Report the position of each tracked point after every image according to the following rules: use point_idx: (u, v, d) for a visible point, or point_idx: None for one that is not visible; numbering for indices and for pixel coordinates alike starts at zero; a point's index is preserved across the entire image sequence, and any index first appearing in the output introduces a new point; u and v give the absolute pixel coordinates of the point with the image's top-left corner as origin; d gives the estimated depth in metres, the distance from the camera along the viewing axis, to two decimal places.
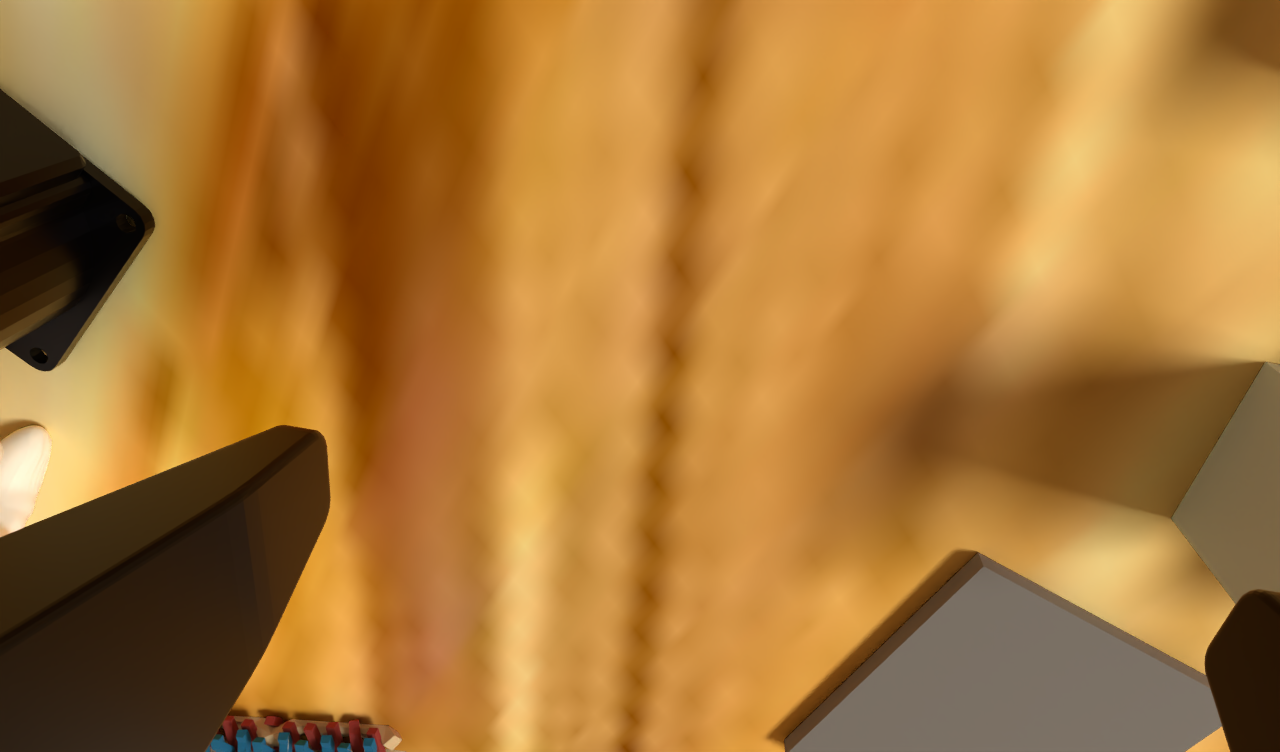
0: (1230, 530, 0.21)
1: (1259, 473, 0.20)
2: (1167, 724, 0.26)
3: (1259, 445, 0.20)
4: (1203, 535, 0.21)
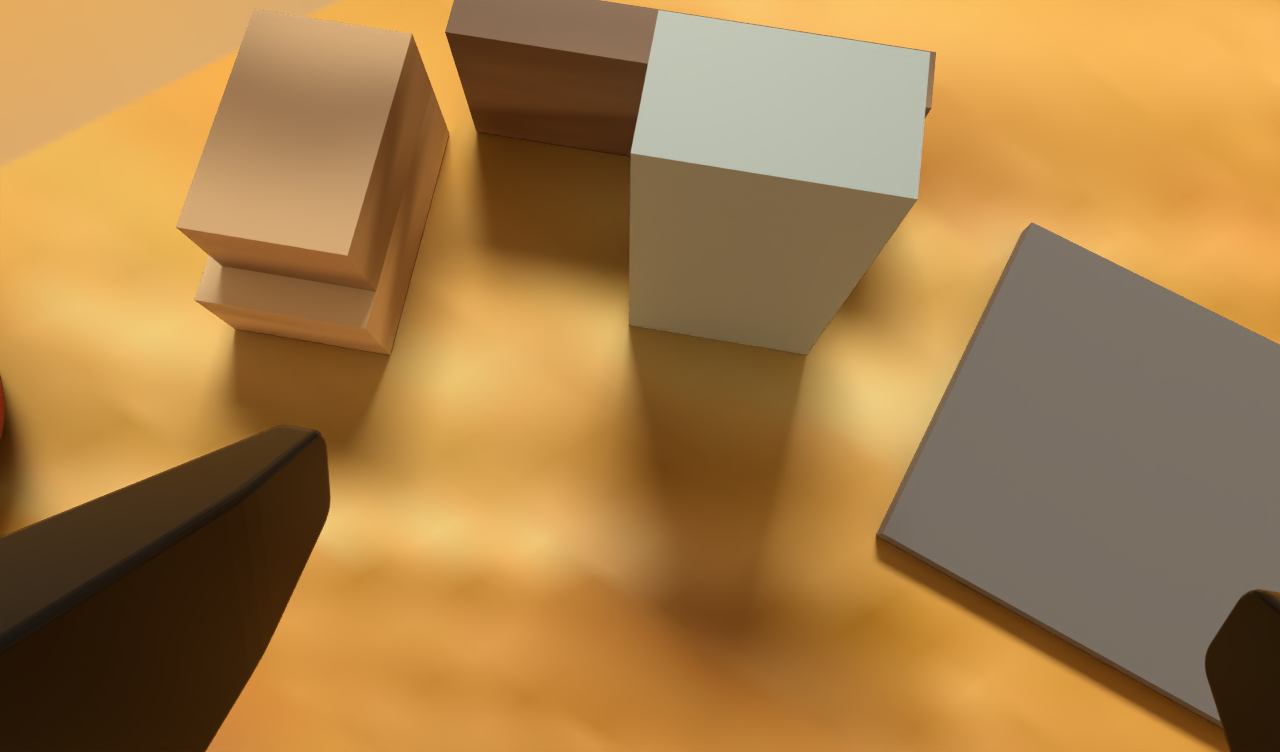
0: (776, 324, 0.21)
1: (712, 316, 0.21)
2: (1075, 290, 0.23)
3: (691, 319, 0.22)
4: (798, 336, 0.21)
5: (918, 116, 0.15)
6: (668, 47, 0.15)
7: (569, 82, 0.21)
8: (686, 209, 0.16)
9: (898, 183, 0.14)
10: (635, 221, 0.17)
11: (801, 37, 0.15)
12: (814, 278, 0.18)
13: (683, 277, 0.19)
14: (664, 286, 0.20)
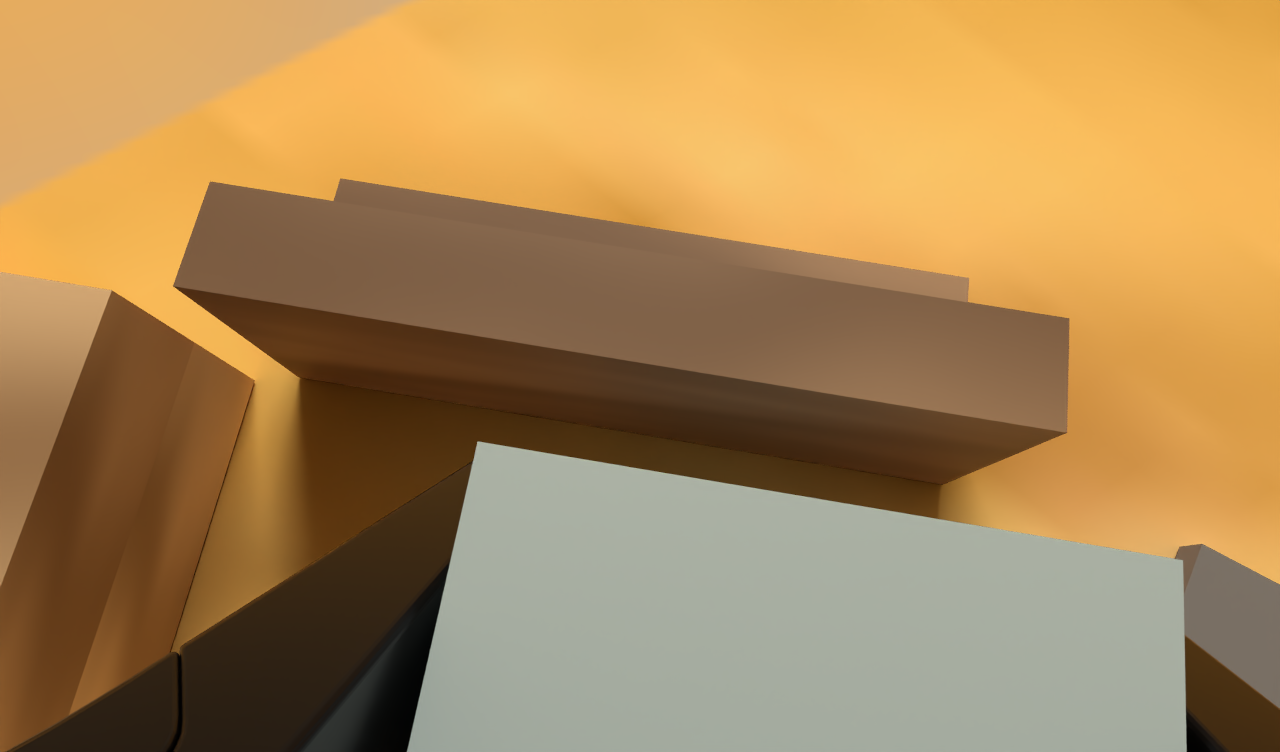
0: None
1: None
2: None
3: None
4: None
5: None
6: (496, 556, 0.06)
7: (415, 350, 0.12)
8: None
9: None
10: None
11: (844, 506, 0.06)
12: None
13: None
14: None
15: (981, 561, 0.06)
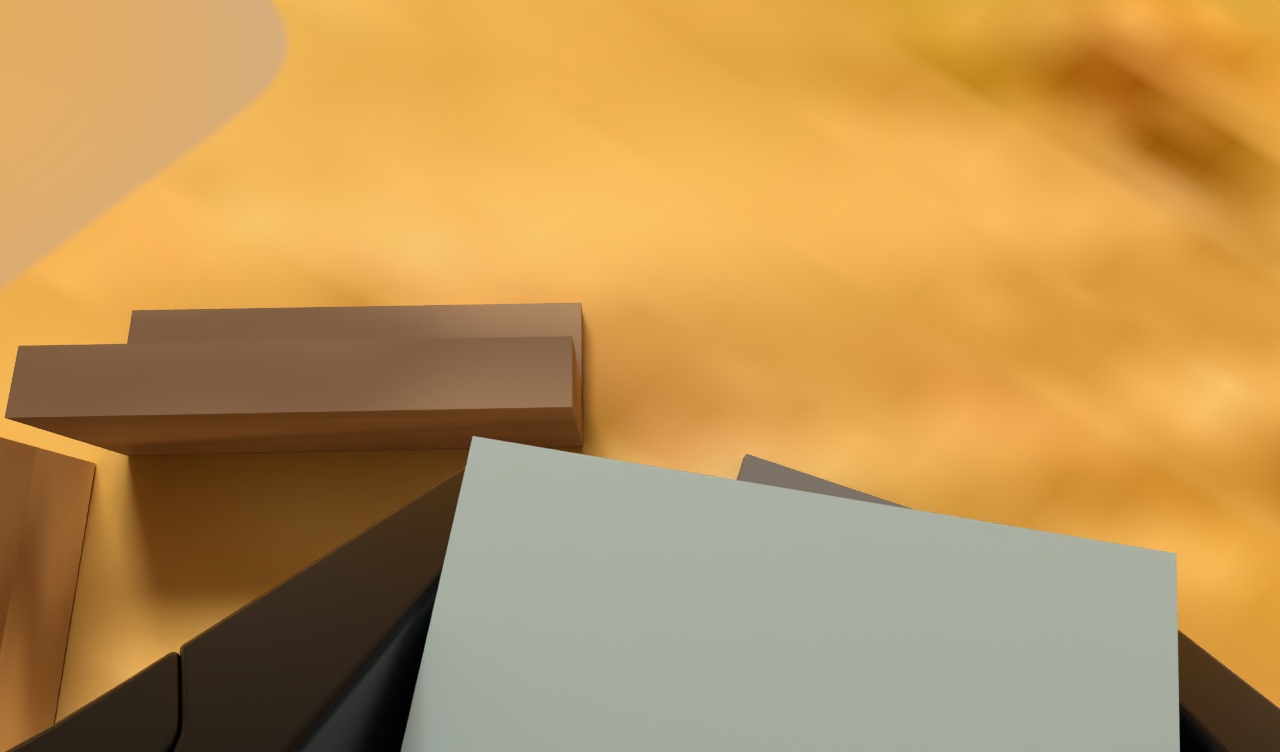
0: None
1: None
2: None
3: None
4: None
5: None
6: (491, 550, 0.06)
7: (179, 427, 0.19)
8: None
9: None
10: None
11: (838, 500, 0.06)
12: None
13: None
14: None
15: (975, 555, 0.06)
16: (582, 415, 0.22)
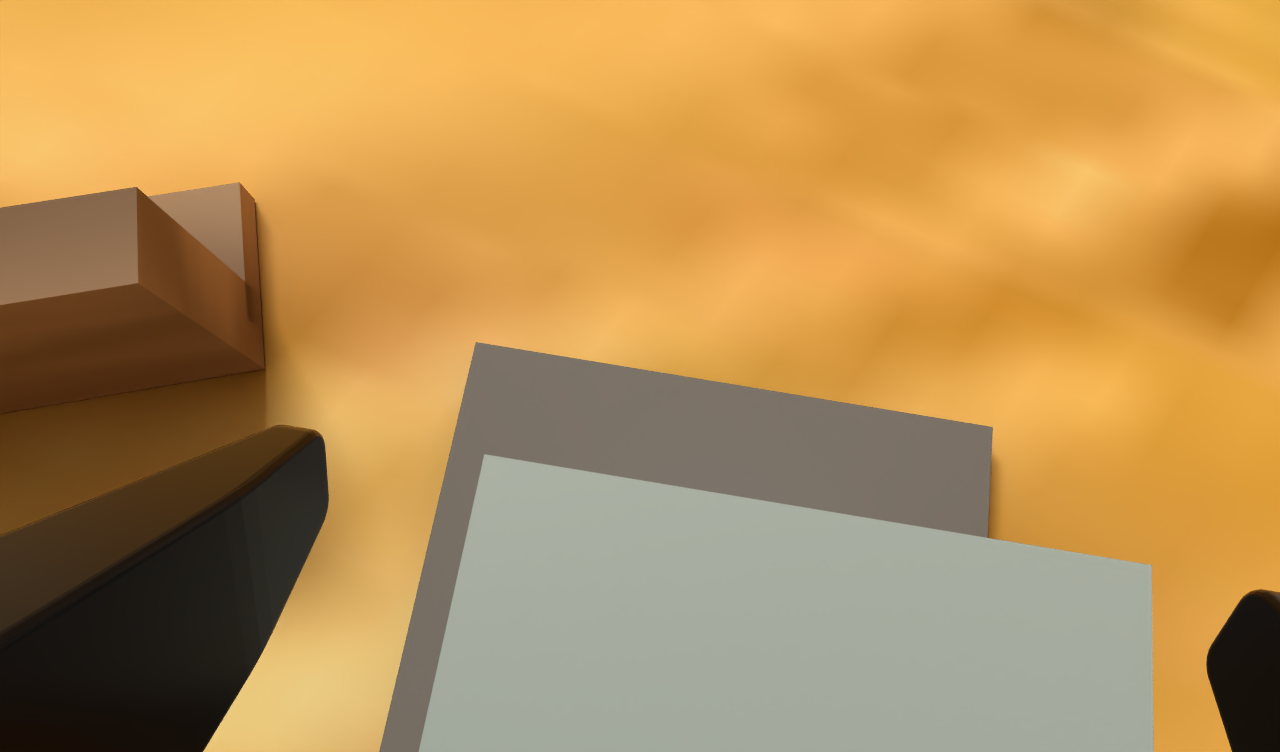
0: None
1: None
2: (555, 423, 0.15)
3: None
4: None
5: None
6: (503, 563, 0.06)
7: None
8: None
9: None
10: None
11: (832, 515, 0.06)
12: None
13: None
14: None
15: (961, 567, 0.06)
16: (258, 328, 0.16)
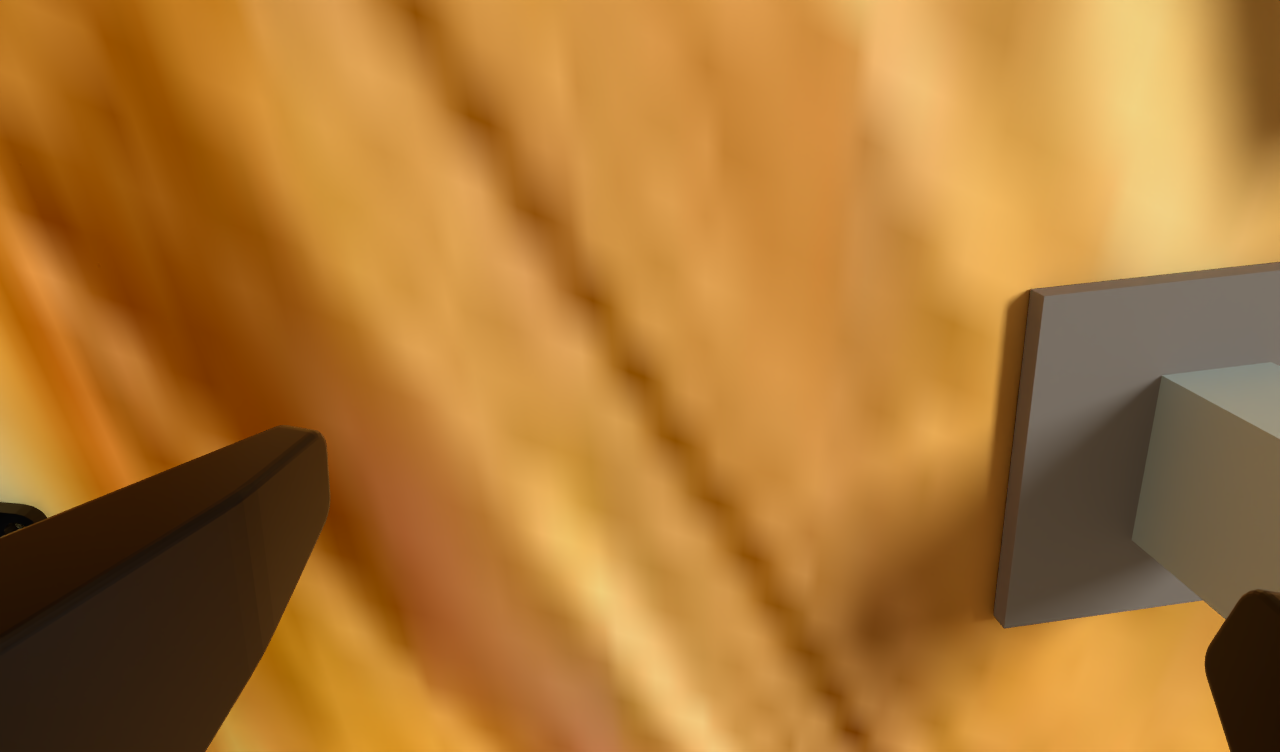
0: (1190, 544, 0.21)
1: (1196, 484, 0.20)
2: None
3: (1186, 456, 0.20)
4: (1167, 552, 0.22)
5: None
6: None
7: None
8: None
9: None
10: None
11: None
12: None
13: (1279, 498, 0.18)
14: (1255, 464, 0.18)
15: None
16: None
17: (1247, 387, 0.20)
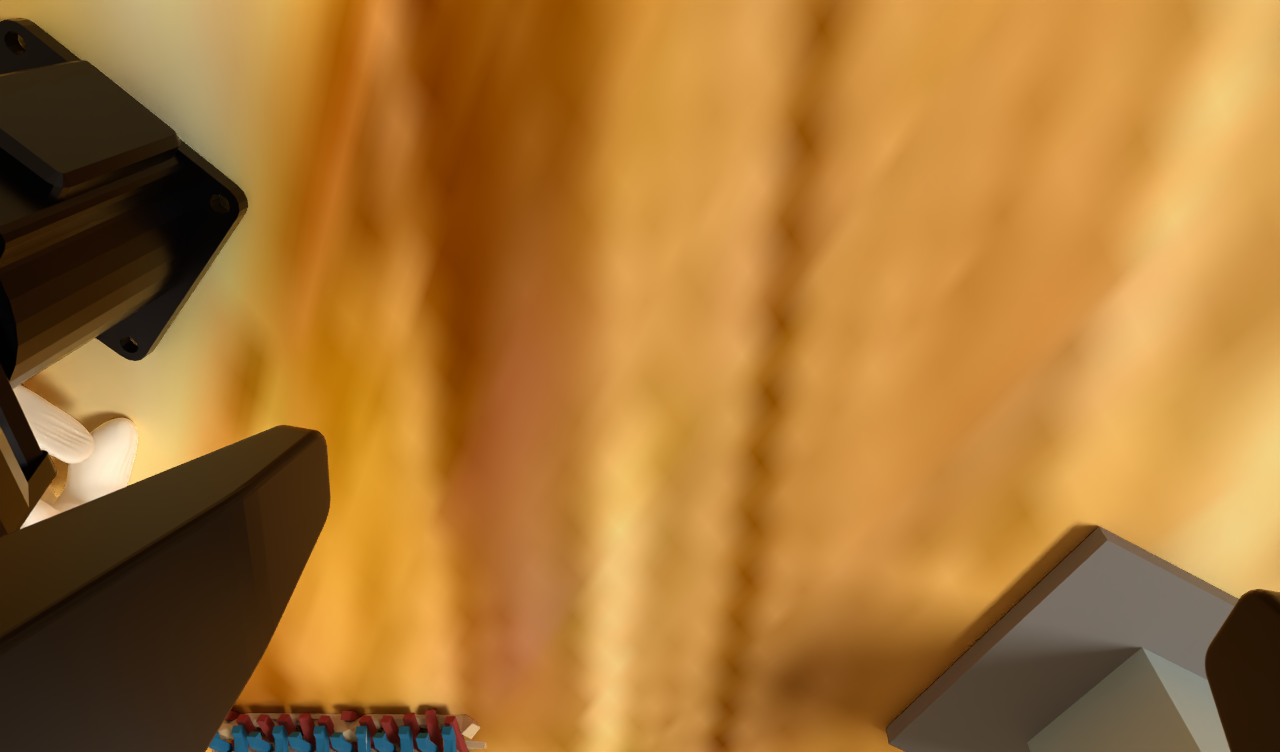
0: None
1: (1111, 741, 0.23)
2: None
3: (1118, 716, 0.24)
4: None
5: None
6: None
7: None
8: None
9: None
10: None
11: None
12: None
13: None
14: None
15: None
16: None
17: (1198, 697, 0.23)
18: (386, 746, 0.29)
